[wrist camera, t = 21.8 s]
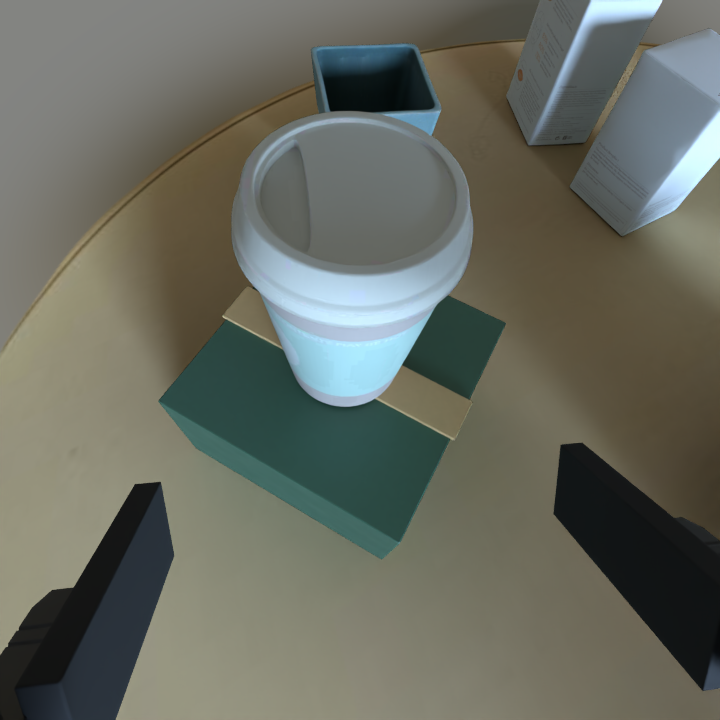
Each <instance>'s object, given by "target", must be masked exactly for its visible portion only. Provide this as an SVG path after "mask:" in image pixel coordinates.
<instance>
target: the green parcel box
mask: <svg viewBox="0 0 720 720" xmlns="http://www.w3.org/2000/svg"><path fill="white" fill-rule="evenodd" d="M223 318H225V319H226V320H225V322H224V323H223V324H222V325H221V326H220V328H219V329H218V330H217V331H216V332H215V334H214V335H213V336H212V337H211V338H210V340H209V341H208V342H207V343H206V344H205V346H204V347H203V348H202V349H201V350H200V352H199V353H198V354H197V355H196V356H195V358H194V359H193V360H192V361H191V362H190V364H189V365H188V366H187V367H186V368H185V369H184V371H183V372H182V373H181V374H180V375H179V377H178V378H177V379H176V380H175V381H174V383H173V384H172V385H171V386H170V387H169V389H168V390H167V391H166V392H165V393H164V395H163V396H162V397H161V398H160V399H159V401H158V402H159V403H160V404H161V405H162V407H163V408H164V409H165V410H166V412H167V413H168V414H169V415H170V417H171V418H172V419H173V420H174V421H175V423H176V424H177V425H178V426H179V428H180V429H181V430H182V431H183V433H184V434H185V435H186V436H187V438H188V439H189V440H190V441H191V442H192V444H193V445H194V446H195V447H196V448H197V449H198V450H200V451H202V452H203V453H205V454H207V455H208V456H210V457H212V458H213V459H215V460H217V461H218V462H220V463H222V464H223V465H225V466H227V467H228V468H230V469H232V470H233V471H235V472H237V473H238V474H240V475H242V476H243V477H245V478H247V479H248V480H250V481H252V482H253V483H255V484H257V485H258V486H260V487H262V488H263V489H265V490H267V491H268V492H270V493H272V494H273V495H275V496H277V497H278V498H280V499H282V500H283V501H285V502H287V503H288V504H290V505H292V506H293V507H295V508H297V509H298V510H300V511H302V512H303V513H305V514H307V515H308V516H310V517H312V518H313V519H315V520H317V521H318V522H320V523H322V524H323V525H325V526H327V527H328V528H330V529H332V530H333V531H335V532H337V533H338V534H340V535H342V536H343V537H345V538H347V539H348V540H350V541H352V542H353V543H355V544H357V545H358V546H360V547H362V548H363V549H365V550H367V551H368V552H370V553H372V554H373V555H375V556H377V557H378V558H380V559H383V558H384V557H385V556H386V555H387V554H389V553H390V552H391V551H392V550H393V549H394V548H395V547H396V546H397V545H398V544H399V543H400V542H401V540H402V538H403V536H404V534H405V532H406V530H407V528H408V526H409V524H410V522H411V519H412V517H413V515H414V513H415V511H416V509H417V507H418V505H419V503H420V501H421V499H422V497H423V495H424V493H425V490H426V488H427V486H428V484H429V482H430V480H431V478H432V476H433V474H434V472H435V470H436V468H437V466H438V464H439V462H440V459H441V457H442V455H443V453H444V451H445V449H446V447H447V445H448V443H449V441H450V439H451V440H453V441H454V440H455V439H456V436H457V434H458V432H459V430H460V428H461V426H462V424H463V422H464V420H465V418H466V416H467V413H468V411H469V409H470V407H471V405H472V403H473V402H472V401H470V400H469V399H470V397H471V395H472V393H473V391H474V389H475V387H476V385H477V383H478V381H479V379H480V377H481V375H482V373H483V370H484V368H485V366H486V364H487V362H488V360H489V358H490V356H491V354H492V352H493V350H494V348H495V346H496V344H497V341H498V339H499V337H500V335H501V333H502V331H503V329H504V327H505V325H506V323H505V322H503V321H501V320H499V319H496V318H494V317H492V316H490V315H488V314H486V313H484V312H482V311H480V310H478V309H475V308H473V307H471V306H469V305H467V304H465V303H463V302H461V301H459V300H456V299H454V298H452V297H450V296H448V295H447V296H446V297H445V298H444V299H443V300H442V301H440V302H439V303H438V304H437V305H436V307H435V308H434V310H433V312H432V314H431V315H430V317H429V319H428V321H427V322H426V324H425V326H424V328H423V329H422V331H421V333H420V334H419V336H418V338H417V340H416V341H415V343H414V345H413V347H412V348H411V350H410V352H409V353H408V355H407V357H406V359H405V360H404V362H403V364H402V366H401V367H400V369H399V371H398V372H397V374H396V376H395V377H394V379H393V381H392V382H391V384H390V385H389V387H388V388H387V389H386V390H385V391H384V392H383V393H382V394H381V395H379V396H378V397H377V398H375V399H373V400H372V401H369V402H367V403H365V404H361V405H357V406H350V407H340V406H333V405H329V404H326V403H323V402H321V401H319V400H317V399H315V398H313V397H312V396H310V395H309V394H308V393H307V392H306V391H305V390H304V389H303V388H302V387H301V386H300V384H299V383H298V381H297V380H296V378H295V376H294V373H293V371H292V369H291V366H290V364H289V362H288V360H287V357H286V355H285V352H284V350H283V347H282V345H281V343H280V340H279V338H278V335H277V333H276V331H275V328H274V326H273V323H272V321H271V319H270V316H269V314H268V311H267V309H266V306H265V304H264V302H263V299H262V297H261V294H260V292H259V291H258V290H257V289H256V288H255V287H253V288H250V287H249V286H247V287H246V288H245V289H244V290H243V292H242V293H241V294H240V295H239V296H238V297H237V299H236V300H235V301H234V302H233V303H232V305H231V306H230V307H229V308H228V309H227V310H226V312H225V313H224V314H223Z"/></svg>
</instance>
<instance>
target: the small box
mask: <svg viewBox="0 0 720 720" xmlns="http://www.w3.org/2000/svg"><path fill="white" fill-rule="evenodd" d="M662 1H663V0H540V1H539V4H538V7H537V10H536V13H535V16H534V19H533V21H532V24H531V27H530V30H529V33H528V36H527V39H526V42H525V44H524V47H523V50H522V53H521V56H520V59H519V62H518V64H517V67H516V70H515V73H514V76H513V79H512V81H511V84H510V87H509V90H508V93H507V95H506V97H507V99H508V101H509V103H510V106H511V108H512V110H513V112H514V115H515V117H516V119H517V121H518V124H519V126H520V128H521V130H522V132H523V135H524V137H525V139H526V141H527V144H528V145H551V144H570V143H584V142H586V141H587V139H588V137H589V135H590V133H591V132H592V130H593V128H594V126H595V124H596V122H597V121H598V119H599V117H600V115H601V113H602V111H603V109H604V108H605V106H606V104H607V102H608V100H609V98H610V97H611V95H612V93H613V91H614V89H615V87H616V86H617V84H618V82H619V80H620V78H621V76H622V75H623V73H624V71H625V69H626V67H627V65H628V64H629V62H630V60H631V58H632V56H633V54H634V52H635V51H636V49H637V47H638V45H639V43H640V41H641V39H642V37H643V36H644V34H645V32H646V30H647V28H648V27H649V24H650V23H651V21H652V19H653V17H654V16H655V13H656V12H657V10H658V8H659V6H660V5H661V3H662Z"/></svg>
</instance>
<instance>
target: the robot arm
mask: <svg viewBox="0 0 720 720" xmlns="http://www.w3.org/2000/svg"><path fill="white" fill-rule="evenodd" d="M554 515H555V516H556V517H557V519H558V520H559V521H560V522H561V523H562V525H563V526H564V527H565V528H566V529H567V530H568V532H569V533H570V534H571V535H572V536H573V538H574V539H575V540H576V541H577V542H578V544H579V545H580V546H581V547H582V548H583V549H584V551H585V552H586V553H587V554H588V555H589V557H590V558H591V559H592V560H593V561H594V563H595V564H596V565H597V566H598V567H599V568H600V570H601V571H602V572H603V573H604V574H605V576H606V577H607V578H608V579H609V580H610V582H611V583H612V584H613V585H614V586H615V587H616V589H617V590H618V591H619V592H620V593H621V595H622V596H623V597H624V598H625V599H626V601H627V602H628V603H629V604H630V605H631V606H632V608H633V609H634V610H635V611H636V612H637V614H638V615H639V616H640V617H641V618H642V620H643V621H644V622H645V623H646V624H647V625H648V627H649V628H650V629H651V630H652V631H653V633H654V634H655V635H656V636H657V637H658V639H659V640H660V641H661V642H662V643H663V644H664V646H665V647H666V648H667V649H668V650H669V652H670V653H671V654H672V655H673V656H674V658H675V659H676V660H677V661H678V662H679V663H680V665H681V666H682V667H683V668H684V669H685V671H686V672H687V673H688V674H689V675H690V677H691V678H692V679H693V680H694V681H695V682H696V684H697V685H698V686H699V687H700V688H701V690H702V691H706V690H712V689H718V688H720V541H719V540H718V539H717V538H716V537H714V536H713V535H712V534H710V533H709V532H708V531H707V530H705V529H704V528H703V527H701V526H699V525H697V524H695V523H693V522H691V521H689V520H687V519H685V518H683V517H679V518H673V517H672V516H671V515H670V514H669V513H667V512H666V511H665V510H664V509H662V508H661V507H660V506H659V505H658V504H656V503H655V502H654V501H653V500H651V499H650V498H649V497H648V496H647V495H645V494H644V493H643V492H642V491H640V490H639V489H638V488H637V487H636V486H634V485H633V484H632V483H631V482H629V481H628V480H627V479H626V478H625V477H623V476H622V475H621V474H620V473H618V472H617V471H616V470H615V469H614V468H612V467H611V466H610V465H609V464H607V463H606V462H605V461H604V460H603V459H601V458H600V457H599V456H598V455H596V454H595V453H594V452H593V451H592V450H590V449H589V448H588V447H587V446H585V445H584V444H583V443H573V444H562V445H561V448H560V457H559V467H558V476H557V486H556V495H555V505H554ZM173 557H174V551H173V546H172V540H171V535H170V530H169V524H168V519H167V513H166V508H165V502H164V497H163V491H162V486H161V482H154V483H143V484H135V485H134V487H133V489H132V490H131V492H130V494H129V495H128V497H127V499H126V500H125V502H124V504H123V505H122V507H121V509H120V511H119V512H118V514H117V516H116V517H115V519H114V521H113V522H112V524H111V526H110V527H109V529H108V531H107V532H106V534H105V536H104V537H103V539H102V541H101V543H100V544H99V546H98V548H97V549H96V551H95V553H94V554H93V556H92V558H91V559H90V561H89V563H88V564H87V566H86V568H85V570H84V571H83V573H82V575H81V576H80V578H79V580H78V581H77V583H76V585H75V586H74V588H66V589H57V590H52V591H51V592H49V593H48V594H47V595H46V596H45V597H44V598H43V599H41V600H40V601H39V602H38V603H37V604H36V605H35V606H34V607H32V609H31V610H30V612H29V613H28V615H27V616H26V618H25V619H24V621H23V622H22V624H21V625H20V627H19V631H16V633H15V634H14V636H13V637H12V639H11V640H10V642H9V643H8V647H6V648H5V649H4V651H3V652H2V654H1V655H0V720H116V717H117V714H118V711H119V708H120V706H121V703H122V700H123V697H124V694H125V692H126V689H127V686H128V683H129V680H130V678H131V675H132V672H133V669H134V666H135V664H136V661H137V658H138V655H139V653H140V650H141V647H142V644H143V641H144V639H145V636H146V633H147V630H148V627H149V625H150V622H151V619H152V616H153V613H154V611H155V608H156V605H157V602H158V599H159V597H160V594H161V591H162V588H163V585H164V583H165V580H166V577H167V574H168V571H169V569H170V566H171V563H172V560H173Z"/></svg>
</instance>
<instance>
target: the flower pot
mask: <svg viewBox="0 0 720 720" xmlns="http://www.w3.org/2000/svg"><path fill="white" fill-rule="evenodd" d="M311 56H312V64H313V73H314V82H315V90H316V99H317V106H318V111H319V114H320V113H326V112H335V111H361V112H370V113H376V114H381V115H385V116H389V117H393V118H396V119H399V120H401V121H404V122H407V123H409V124H411V125H414V126H416V127H417V128H419V129H421V130H423V131H425V132H426V133H428V134H429V135H432V133H433V130H434V128H435V125H436V122H437V120H438V117H439V114H440V112H441V105H440V102H439V100H438V97H437V95H436V93H435V91H434V88H433V85H432V83H431V80H430V78H429V75H428V73H427V70H426V68H425V65H424V62H423V60H422V57H421V54H420V52H419V49H418V48H417V46H416V45H415V44H408V43H402V44H401V43H398V44H379V45H348V46H319V47H313V48H312V49H311Z"/></svg>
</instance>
